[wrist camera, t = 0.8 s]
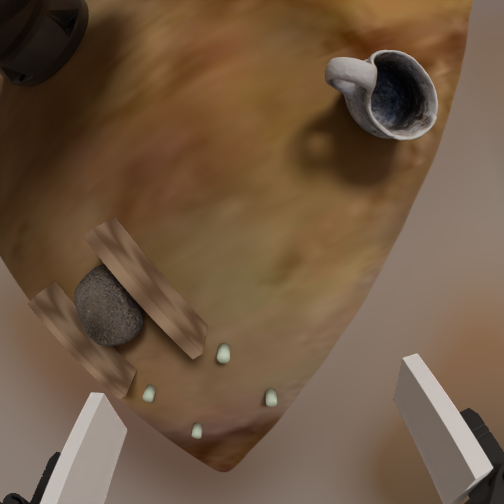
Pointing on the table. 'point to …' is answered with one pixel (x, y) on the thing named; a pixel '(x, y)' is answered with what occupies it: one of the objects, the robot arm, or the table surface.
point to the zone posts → (222, 358)
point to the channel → (140, 288)
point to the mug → (386, 93)
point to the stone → (107, 309)
